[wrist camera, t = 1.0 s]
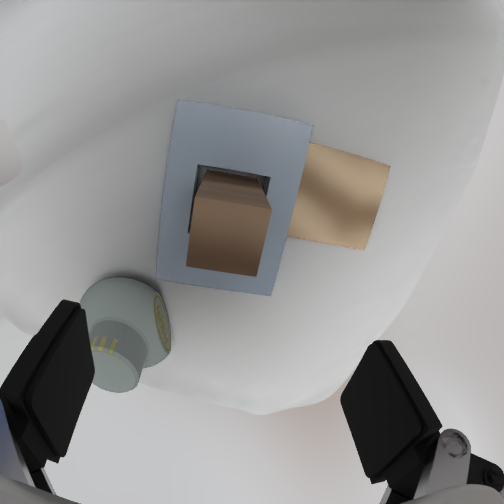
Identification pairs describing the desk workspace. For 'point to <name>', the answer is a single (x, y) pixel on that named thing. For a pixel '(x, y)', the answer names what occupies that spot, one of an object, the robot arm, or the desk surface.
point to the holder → (234, 158)
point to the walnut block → (228, 224)
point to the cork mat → (337, 198)
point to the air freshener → (125, 331)
